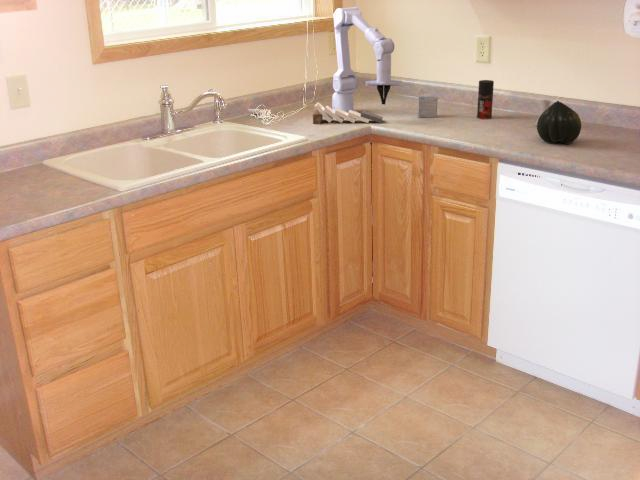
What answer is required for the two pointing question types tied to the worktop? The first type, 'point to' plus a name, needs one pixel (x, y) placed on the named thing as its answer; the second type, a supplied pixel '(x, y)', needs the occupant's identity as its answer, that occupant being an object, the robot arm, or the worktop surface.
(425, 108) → the medicine box
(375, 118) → the domino
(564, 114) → the squash
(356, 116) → the domino
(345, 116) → the domino
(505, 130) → the worktop surface
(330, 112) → the domino
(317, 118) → the block
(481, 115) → the deodorant
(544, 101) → the flask
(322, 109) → the domino
